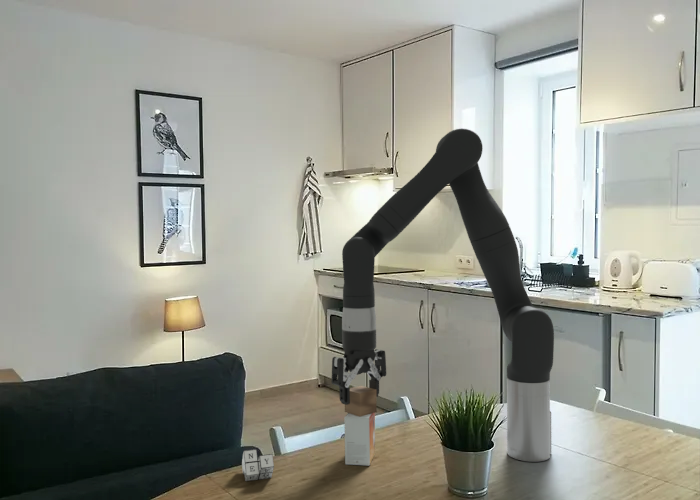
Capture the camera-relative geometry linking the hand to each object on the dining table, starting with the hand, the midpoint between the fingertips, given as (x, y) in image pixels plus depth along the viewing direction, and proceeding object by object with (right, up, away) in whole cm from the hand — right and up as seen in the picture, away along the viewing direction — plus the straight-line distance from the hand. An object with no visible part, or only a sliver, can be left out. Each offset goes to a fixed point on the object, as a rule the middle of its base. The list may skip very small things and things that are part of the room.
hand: (360, 400), depth 134 cm
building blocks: (-21, -14, -9) cm, 27 cm away
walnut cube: (0, -3, 0) cm, 3 cm away
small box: (0, -13, 0) cm, 13 cm away
